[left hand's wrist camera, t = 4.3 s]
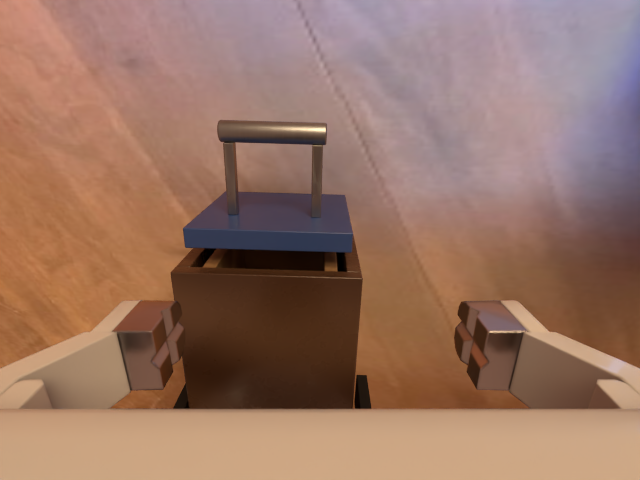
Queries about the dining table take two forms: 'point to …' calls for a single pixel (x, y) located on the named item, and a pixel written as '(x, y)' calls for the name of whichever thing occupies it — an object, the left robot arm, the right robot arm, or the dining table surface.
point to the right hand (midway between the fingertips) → (279, 385)
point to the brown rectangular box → (269, 334)
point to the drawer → (272, 210)
